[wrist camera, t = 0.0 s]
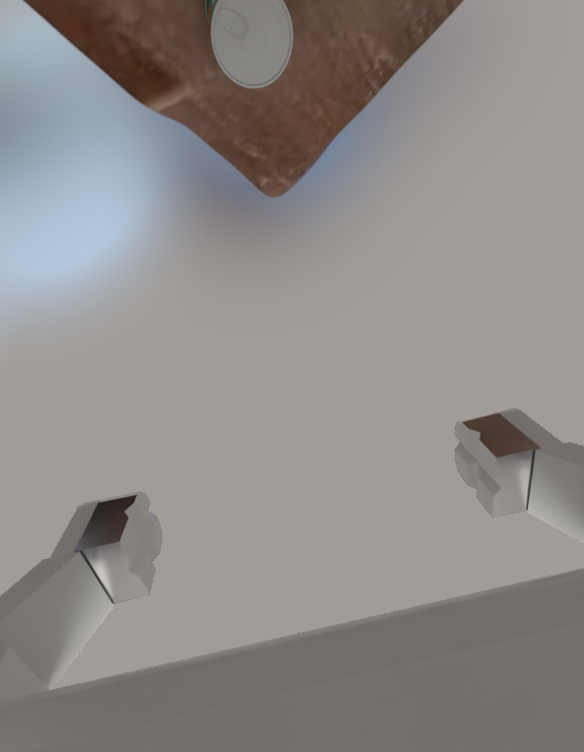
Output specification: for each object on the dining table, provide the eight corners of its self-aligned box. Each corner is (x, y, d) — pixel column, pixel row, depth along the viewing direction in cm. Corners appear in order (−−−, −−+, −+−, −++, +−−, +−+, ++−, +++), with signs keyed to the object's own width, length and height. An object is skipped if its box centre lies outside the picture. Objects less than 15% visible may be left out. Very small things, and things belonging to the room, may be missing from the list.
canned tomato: (288, -5, 42) (309, 19, 36) (255, 71, 47) (268, 105, 40) (222, -63, 38) (233, -47, 31) (193, 28, 43) (197, 58, 36)
